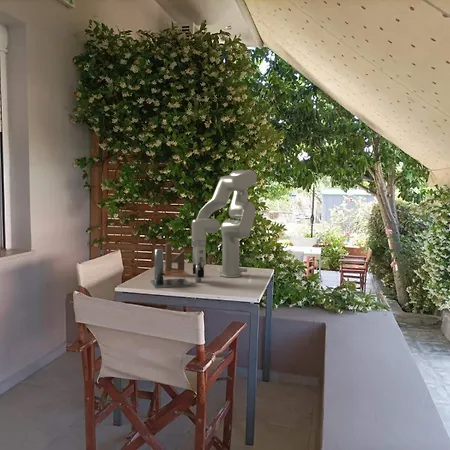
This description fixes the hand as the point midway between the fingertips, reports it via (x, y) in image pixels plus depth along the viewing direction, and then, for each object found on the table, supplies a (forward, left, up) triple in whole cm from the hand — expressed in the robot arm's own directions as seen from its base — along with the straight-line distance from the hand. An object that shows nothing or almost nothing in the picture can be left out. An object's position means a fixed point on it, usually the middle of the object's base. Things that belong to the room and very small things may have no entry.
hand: (198, 275), depth 231 cm
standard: (+15, +1, -4) cm, 15 cm away
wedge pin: (0, 0, -4) cm, 4 cm away
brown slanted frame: (+8, -22, -4) cm, 24 cm away
